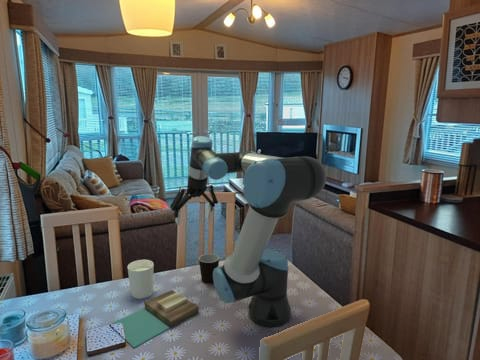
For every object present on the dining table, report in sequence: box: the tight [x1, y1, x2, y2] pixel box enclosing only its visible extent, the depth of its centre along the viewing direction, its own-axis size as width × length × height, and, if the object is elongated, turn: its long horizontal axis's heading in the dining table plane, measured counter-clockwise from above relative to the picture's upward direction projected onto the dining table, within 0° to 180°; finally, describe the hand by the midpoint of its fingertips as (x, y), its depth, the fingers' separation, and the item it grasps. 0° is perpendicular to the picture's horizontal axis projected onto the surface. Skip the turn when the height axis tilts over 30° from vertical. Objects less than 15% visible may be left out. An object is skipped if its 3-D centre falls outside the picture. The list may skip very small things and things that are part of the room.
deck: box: [143, 289, 199, 329], centre depth 122 cm, size 16×12×2 cm
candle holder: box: [127, 259, 154, 300], centre depth 132 cm, size 10×10×12 cm
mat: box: [108, 307, 171, 349], centre depth 113 cm, size 16×13×1 cm
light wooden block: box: [157, 291, 188, 312], centre depth 122 cm, size 6×9×2 cm, turn 137°
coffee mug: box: [198, 253, 220, 285], centre depth 144 cm, size 12×9×10 cm
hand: (192, 220), depth 141 cm, fingers open, 13 cm apart
